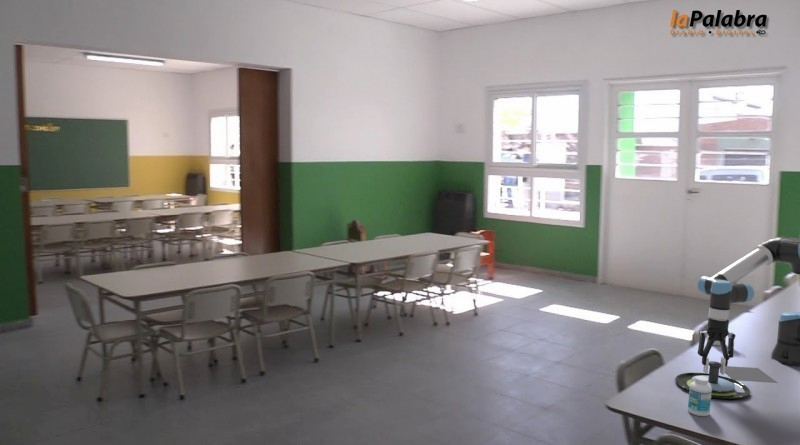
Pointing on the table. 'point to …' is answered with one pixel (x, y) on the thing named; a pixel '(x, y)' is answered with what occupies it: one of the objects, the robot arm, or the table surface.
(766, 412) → the table surface
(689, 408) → the pill bottle
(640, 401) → the table surface
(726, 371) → the mat
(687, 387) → the plate
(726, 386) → the lid
